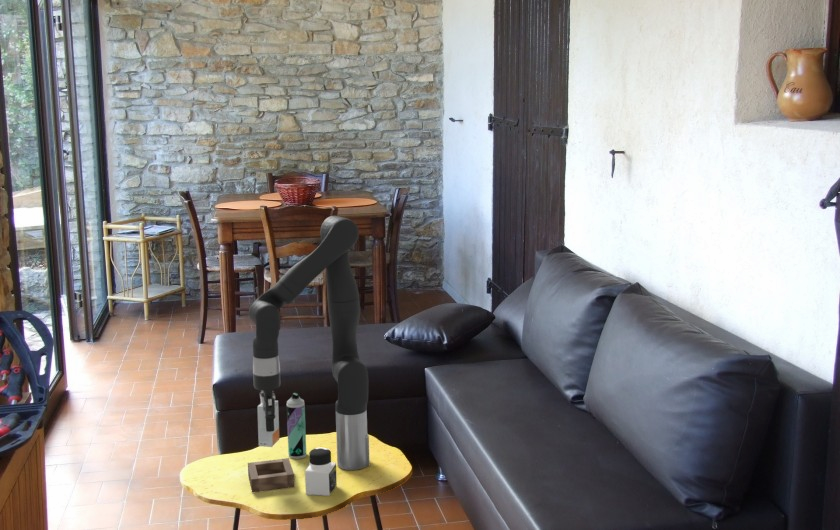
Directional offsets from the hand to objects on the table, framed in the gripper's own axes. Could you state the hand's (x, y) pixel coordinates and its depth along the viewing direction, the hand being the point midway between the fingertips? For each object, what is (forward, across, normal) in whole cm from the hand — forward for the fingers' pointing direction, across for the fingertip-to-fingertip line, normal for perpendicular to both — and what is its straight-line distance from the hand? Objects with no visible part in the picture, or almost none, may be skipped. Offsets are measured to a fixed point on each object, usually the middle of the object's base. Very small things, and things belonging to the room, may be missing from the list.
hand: (268, 426), depth 254 cm
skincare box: (+5, 0, 0) cm, 5 cm away
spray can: (+17, +17, -10) cm, 26 cm away
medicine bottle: (+17, -10, -13) cm, 24 cm away
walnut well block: (+17, 0, 0) cm, 17 cm away
